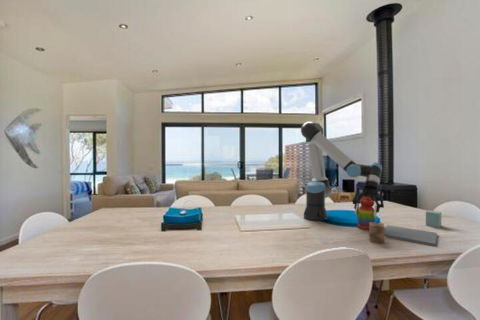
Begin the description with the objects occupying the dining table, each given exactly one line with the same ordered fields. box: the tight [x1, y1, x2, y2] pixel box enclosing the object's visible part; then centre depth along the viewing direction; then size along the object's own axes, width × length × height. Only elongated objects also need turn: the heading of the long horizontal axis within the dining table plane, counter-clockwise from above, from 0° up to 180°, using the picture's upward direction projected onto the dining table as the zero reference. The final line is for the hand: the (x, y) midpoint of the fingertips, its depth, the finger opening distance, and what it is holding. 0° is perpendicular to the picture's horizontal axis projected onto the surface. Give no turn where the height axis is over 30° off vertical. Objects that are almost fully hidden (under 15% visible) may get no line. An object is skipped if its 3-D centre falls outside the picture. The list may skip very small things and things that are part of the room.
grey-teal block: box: [425, 210, 442, 228], centre depth 142 cm, size 6×6×8 cm
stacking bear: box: [356, 196, 377, 231], centre depth 138 cm, size 11×10×18 cm
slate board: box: [385, 224, 438, 247], centre depth 125 cm, size 22×20×1 cm
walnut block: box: [368, 222, 386, 245], centre depth 117 cm, size 6×6×8 cm
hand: (364, 215), depth 136 cm, fingers closed on stacking bear, 9 cm apart
